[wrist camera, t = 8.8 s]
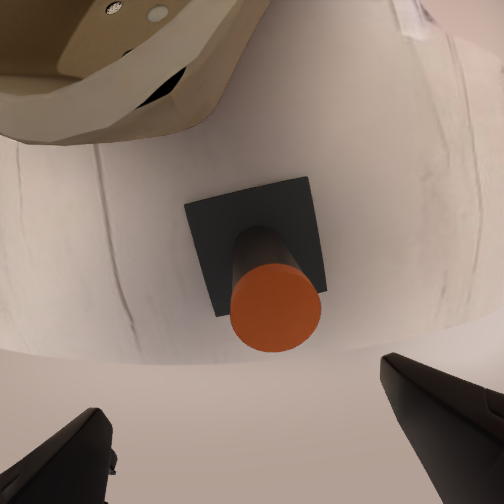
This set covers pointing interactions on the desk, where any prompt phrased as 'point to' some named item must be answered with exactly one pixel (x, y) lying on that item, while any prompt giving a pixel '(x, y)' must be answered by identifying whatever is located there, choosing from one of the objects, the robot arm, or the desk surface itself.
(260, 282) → the marker
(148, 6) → the flower pot
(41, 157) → the desk surface
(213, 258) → the slate mat
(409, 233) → the desk surface
